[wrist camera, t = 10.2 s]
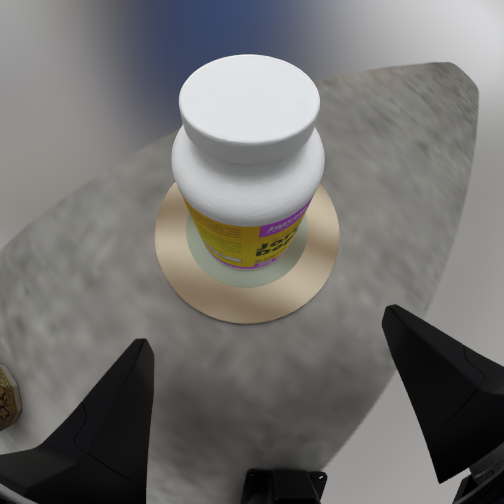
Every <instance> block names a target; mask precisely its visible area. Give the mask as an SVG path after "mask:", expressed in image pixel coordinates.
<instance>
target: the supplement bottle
mask: <svg viewBox="0 0 504 504" xmlns="http://www.w3.org/2000/svg"><path fill="white" fill-rule="evenodd" d="M179 107H180V112H181V116H182V121H183V125H182V127H181V129H180V130H179V132H178V134H177V136H176V138H175V141H174V145H173V149H172V158H171V159H172V170H173V175H174V178H175V181H176V183H177V186H178V188H179V191H180V193H181V195H182V197H183V199H184V202H185V204H186V206H187V208H188V211H189V213H190V215H191V217H192V219H193V222H194V224H195V226H196V228H197V230H198V233H199V235H200V237H201V239H202V241H203V243H204V245H205V247H206V249H207V250H208V252H209V253H210V254H211V255H212V256H213V257H214V258H215V259H216V260H217V261H219V262H220V263H222V264H224V265H226V266H228V267H230V268H233V269H238V270H256V269H261V268H264V267H266V266H268V265H270V264H272V263H274V262H275V261H276V260H278V259H279V258H280V257H281V256H282V255H283V254H284V253H285V251H286V250H287V248H288V247H289V245H290V243H291V241H292V239H293V237H294V235H295V233H296V231H297V230H298V227H299V225H300V223H301V221H302V219H303V217H304V215H305V213H306V211H307V208H308V206H309V204H310V202H311V200H312V198H313V196H314V194H315V192H316V190H317V188H318V186H319V183H320V181H321V178H322V175H323V170H324V149H323V145H322V142H321V139H320V136H319V134H318V132H317V131H316V129H315V122H316V118H317V115H318V112H319V108H320V98H319V93H318V90H317V88H316V86H315V85H314V83H313V82H312V80H311V79H310V78H309V77H308V76H307V75H306V74H305V73H304V72H303V71H301V70H300V69H298V68H297V67H295V66H293V65H292V64H289V63H287V62H285V61H283V60H279V59H276V58H272V57H268V56H262V55H236V56H229V57H225V58H221V59H218V60H215V61H212V62H210V63H208V64H206V65H204V66H203V67H201V68H199V69H198V70H197V71H195V72H194V73H193V74H192V75H191V76H190V77H189V78H188V79H187V81H186V82H185V83H184V85H183V87H182V89H181V92H180V96H179Z"/></svg>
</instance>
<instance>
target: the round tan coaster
mask: <svg viewBox="0 0 504 504" xmlns="http://www.w3.org/2000/svg"><path fill="white" fill-rule="evenodd" d="M155 246H156V252H157V257H158V261H159V263H160V266H161V269H162V271H163V273H164V275H165V277H166V279H167V281H168V282H169V284H170V285H171V286H172V288H173V289H174V290H175V292H176V293H177V294H178V295H179V296H180V297H181V298H182V299H183V300H184V301H186V302H187V303H188V304H190V305H191V306H192V307H194V308H195V309H197V310H199V311H200V312H202V313H204V314H206V315H208V316H211V317H213V318H216V319H219V320H223V321H227V322H232V323H242V324H252V323H262V322H267V321H271V320H275V319H277V318H280V317H283V316H286V315H288V314H290V313H292V312H294V311H296V310H297V309H299V308H300V307H302V306H303V305H304V304H306V303H307V302H308V301H309V300H310V299H311V298H313V297H314V296H315V295H316V294H317V293H318V291H319V290H320V289H321V288H322V286H323V285H324V284H325V282H326V280H327V279H328V277H329V275H330V274H331V271H332V269H333V267H334V264H335V261H336V257H337V253H338V247H339V225H338V219H337V215H336V211H335V208H334V206H333V203H332V201H331V199H330V197H329V195H328V194H327V192H326V190H325V189H324V187H323V186H322V185H321V183H319V186H318V188H317V190H316V192H315V194H314V196H313V198H312V200H311V202H310V204H309V206H308V208H307V211H306V213H305V215H304V217H303V219H302V221H301V223H300V225H299V227H298V230H297V231H296V233H295V235H294V237H293V239H292V241H291V243H290V245H289V247H288V248H287V250H286V251H285V253H284V254H283V255H282V256H281V257H280V258H279V259H278V260H276V261H275V262H274V263H272V264H270V265H268V266H266V267H264V268H261V269H256V270H238V269H233V268H230V267H228V266H226V265H224V264H222V263H220V262H219V261H217V260H216V259H215V258H214V257H213V256H212V255H211V254H210V253H209V252H208V250H207V249H206V247H205V245H204V243H203V241H202V239H201V237H200V235H199V233H198V230H197V228H196V226H195V224H194V222H193V219H192V217H191V215H190V213H189V211H188V208H187V206H186V204H185V202H184V199H183V197H182V195H181V193H180V191H179V188H178V186H177V183H176V182H175V183H174V184H173V185H172V187H171V188H170V190H169V191H168V193H167V194H166V196H165V198H164V200H163V202H162V204H161V207H160V210H159V213H158V216H157V221H156V227H155Z"/></svg>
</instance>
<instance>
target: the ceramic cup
mask: <svg viewBox="0 0 504 504" xmlns="http://www.w3.org/2000/svg"><path fill="white" fill-rule="evenodd" d="M21 410H22V405H21V400H20V395H19V389H18V385H17V383H16V381H15V380H14V378H13V376H12V375H11V373H10V371H9V370H8V368H7V367H6V366H4V365H1V364H0V431H2V430H3V429H5V428H7V427H8V426H10V425H11V424H13V423H15V421H16V420H17V418H18V416H19V414H20V412H21Z"/></svg>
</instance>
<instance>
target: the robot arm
mask: <svg viewBox="0 0 504 504" xmlns="http://www.w3.org/2000/svg"><path fill="white" fill-rule="evenodd" d="M382 328H383V331H384V334H385V337H386V340H387V343H388V346H389V349H390V352H391V355H392V358H393V360H394V363H395V365H396V367H397V370H398V372H399V374H400V377H401V379H402V381H403V384H404V386H405V388H406V391H407V393H408V396H409V398H410V401H411V403H412V406H413V409H414V411H415V414H416V416H417V419H418V421H419V424H420V427H421V430H422V432H423V435H424V438H425V441H426V444H427V447H428V450H429V453H430V456H431V459H432V463H433V466H434V469H435V472H436V476H437V479H438V482H439V484H441V483H443V482H445V481H447V480H448V479H450V478H452V477H453V476H455V475H457V474H459V473H460V472H462V471H464V470H465V469H467V468H468V467H469V469H470V472H471V474H470V475H468V476H467V477H465V478H464V479H463V480H462V481H461V484H460V487H459V489H458V491H457V494H456V496H455V498H454V501H453V503H452V504H504V367H503V366H501V365H499V364H497V363H495V362H493V361H492V360H490V359H488V358H486V357H484V356H482V355H480V354H478V353H477V352H475V351H473V350H472V349H470V348H468V347H467V346H465V345H463V344H462V343H460V342H458V341H457V340H455V339H453V338H452V337H450V336H448V335H447V334H445V333H444V332H442V331H440V330H439V329H437V328H435V327H434V326H432V325H430V324H429V323H427V322H425V321H424V320H422V319H420V318H419V317H417V316H415V315H414V314H412V313H410V312H409V311H407V310H405V309H403V308H402V307H400V306H398V305H396V304H394V305H390V306H387V307H386V309H385V312H384V316H383V319H382ZM153 396H154V353H153V351H152V349H151V347H150V345H149V342H148V341H147V339H145V338H140V339H135V340H134V341H133V342H132V343H131V345H130V346H129V347H128V348H127V349H126V350H125V351H124V353H123V354H122V355H121V356H120V357H119V358H118V359H117V361H116V362H115V363H114V364H113V365H112V366H111V368H110V369H109V370H108V371H107V372H106V373H105V375H104V376H103V377H102V378H101V379H100V380H99V382H98V383H97V384H96V385H95V386H94V387H93V389H92V390H91V391H90V392H89V393H88V395H87V396H86V397H85V398H84V399H83V401H82V402H81V403H80V404H79V405H78V406H77V408H76V409H75V410H74V411H73V412H72V413H71V415H70V416H69V417H68V418H67V419H66V420H65V421H64V422H63V423H62V424H61V425H60V426H59V427H58V428H57V429H56V430H55V431H54V432H53V433H52V434H51V435H50V436H49V437H48V438H47V439H46V440H45V441H44V442H43V443H42V444H40V445H39V446H37V447H35V448H33V449H29V450H25V451H20V452H14V453H9V454H2V455H0V504H146V482H147V463H148V448H149V435H150V425H151V415H152V406H153ZM251 474H255V476H250V475H251ZM321 476H323V478H321V479H319V477H321ZM326 481H327V475H326V473H325V472H306V471H292V470H274V471H267V470H256V469H251V470H248V471H247V473H246V477H245V482H244V487H243V492H242V497H241V502H240V504H321V503H320V500H321V497H322V494H323V491H324V488H325V484H326Z"/></svg>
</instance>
